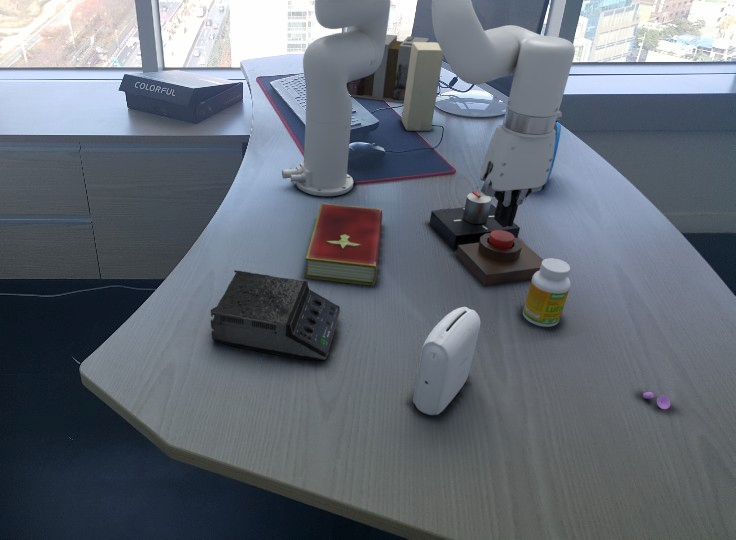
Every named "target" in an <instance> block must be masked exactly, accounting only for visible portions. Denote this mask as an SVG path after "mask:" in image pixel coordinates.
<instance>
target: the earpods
mask: <svg viewBox="0 0 736 540" xmlns="http://www.w3.org/2000/svg"><path fill="white" fill-rule="evenodd" d="M642 397H643V398H644V399H645V400H650V399H651V400H652V399H654V398H655V394H654V392H651V391H648V392H647V391H646V392H643V393H642ZM656 404H657V407H659V408H660V409H662V410H668V409H669V408H670V407H671V404H672V403H671V399H670V398H669V397H668V396H667V395H665V394H662V395H659V396H657V398H656Z"/></svg>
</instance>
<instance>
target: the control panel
mask: <svg viewBox="0 0 736 540" xmlns="http://www.w3.org/2000/svg"><path fill="white" fill-rule="evenodd" d="M496 207H497V206H495V205H494V204H492V203H491V205H490V209H489V214H488V218H487V221H486V222H485V223H483V224H472V223H469V222H467V221H465V220H464V219H463V214H464V209H465V206H463V207H453V208H446V209H445V208H444V209H434V210H431V211H430V218H429V224H428V225H429V226H431V227H432V229H433V230H435V232H436V233H437V234H438V235H439V236H440V237H441V238H442V239H443V240H444V241H445V243H447V244H448V246H449V247H450V248H451V249H452V250H457V249H458V245H464V244H472V243H479V241H480V237H481V236H483V235H484V234H486V233H491V232H492V231H495V230H503V231H507V232H510V233H511V234H513V235H514V237H515V238H519V234H520V230H521V227H520V226H518V225H517V224H516V223H515V221H514V222H513V225H512V226H510V227H509V226H507V227H502V226H501V225H500V224H499V223H498V222H497V221H496V220H495V219H494V215H495V211H496Z"/></svg>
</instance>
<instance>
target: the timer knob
mask: <svg viewBox="0 0 736 540" xmlns="http://www.w3.org/2000/svg"><path fill="white" fill-rule="evenodd" d="M465 199H466V200H465V204H464V207H465V209H464V214H463V219H464V220H465V221H467V222H469V223H472V224H483V223H485V222H486V221H487V218H488V214H489V209H490V205H491V204H492V200H493V199H492V197H491V196H486V195H484V194H483V193H482V192H477V191H476V190H473V191H472V192H470V193H468V194H467V195H466V198H465Z"/></svg>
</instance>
